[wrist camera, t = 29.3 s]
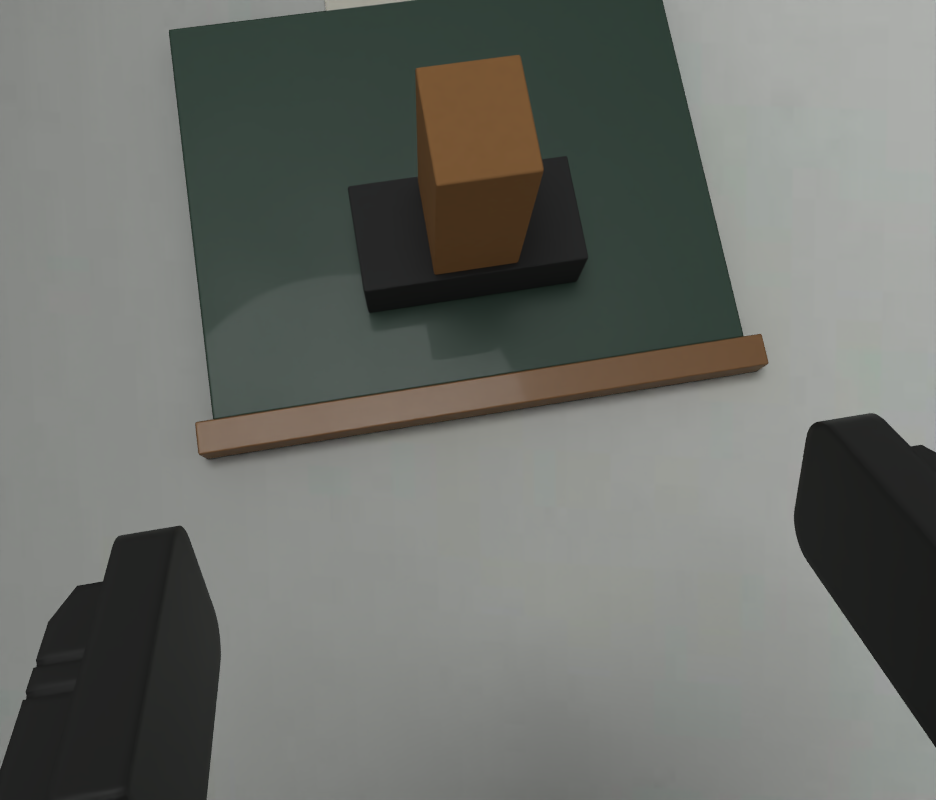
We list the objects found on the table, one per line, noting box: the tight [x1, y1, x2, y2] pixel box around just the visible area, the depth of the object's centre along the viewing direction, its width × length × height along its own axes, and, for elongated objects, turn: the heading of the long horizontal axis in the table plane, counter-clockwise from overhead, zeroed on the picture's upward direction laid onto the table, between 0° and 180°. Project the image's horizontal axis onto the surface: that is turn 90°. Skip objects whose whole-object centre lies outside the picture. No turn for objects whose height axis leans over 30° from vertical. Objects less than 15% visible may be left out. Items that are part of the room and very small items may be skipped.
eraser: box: [348, 55, 588, 313], centre depth 29 cm, size 8×4×10 cm, turn 100°
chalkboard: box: [169, 0, 768, 459], centre depth 34 cm, size 21×17×1 cm
